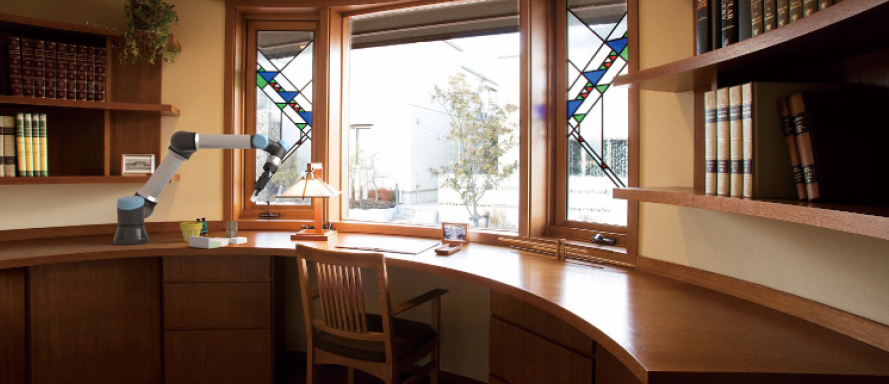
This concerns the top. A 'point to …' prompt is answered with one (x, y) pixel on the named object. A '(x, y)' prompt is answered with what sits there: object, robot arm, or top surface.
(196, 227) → the plant pot
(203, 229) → the binoculars
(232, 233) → the walnut block
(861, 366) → the top surface
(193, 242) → the trap board
